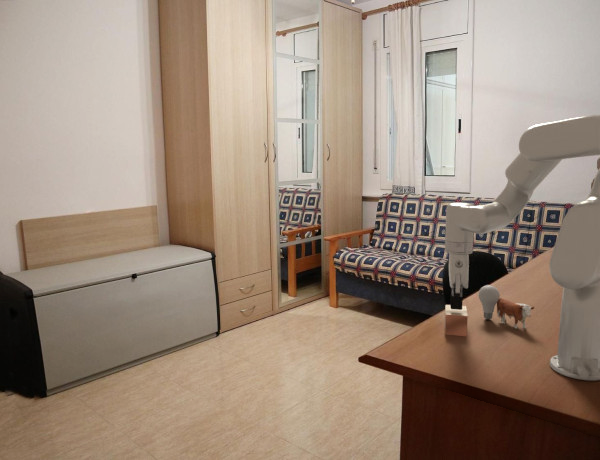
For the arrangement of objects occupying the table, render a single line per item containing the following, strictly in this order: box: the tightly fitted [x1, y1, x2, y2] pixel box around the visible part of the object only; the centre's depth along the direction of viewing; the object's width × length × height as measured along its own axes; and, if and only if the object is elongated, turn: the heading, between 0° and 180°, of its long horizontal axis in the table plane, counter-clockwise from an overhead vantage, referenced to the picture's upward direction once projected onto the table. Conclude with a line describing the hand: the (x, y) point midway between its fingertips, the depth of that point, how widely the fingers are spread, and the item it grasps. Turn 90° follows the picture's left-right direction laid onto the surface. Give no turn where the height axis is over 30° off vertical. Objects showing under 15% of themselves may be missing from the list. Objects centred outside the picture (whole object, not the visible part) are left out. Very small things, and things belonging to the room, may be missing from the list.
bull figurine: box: [496, 298, 535, 330], centre depth 151 cm, size 4×13×8 cm, turn 20°
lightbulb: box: [478, 284, 501, 321], centre depth 156 cm, size 6×6×11 cm
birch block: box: [444, 304, 469, 337], centre depth 149 cm, size 6×6×9 cm
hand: (456, 308), depth 147 cm, fingers closed
